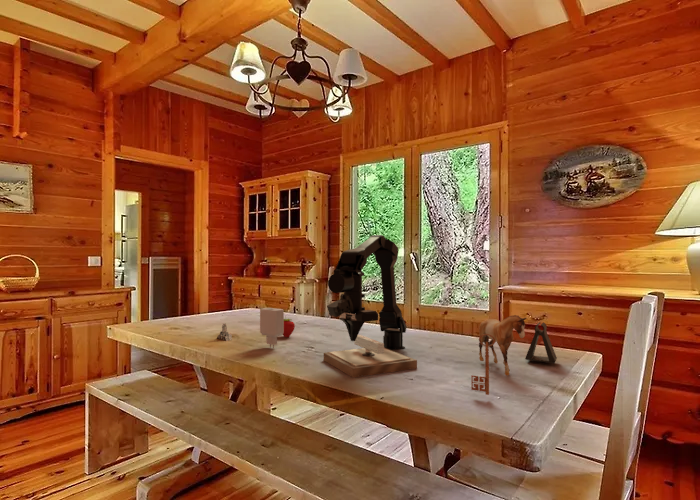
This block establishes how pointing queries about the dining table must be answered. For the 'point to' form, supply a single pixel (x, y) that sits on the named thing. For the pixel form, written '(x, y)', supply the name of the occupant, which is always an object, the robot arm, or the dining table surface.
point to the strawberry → (288, 327)
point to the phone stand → (547, 344)
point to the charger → (271, 324)
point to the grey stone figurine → (224, 334)
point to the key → (477, 379)
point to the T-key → (369, 345)
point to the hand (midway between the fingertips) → (352, 341)
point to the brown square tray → (369, 362)
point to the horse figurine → (501, 335)
